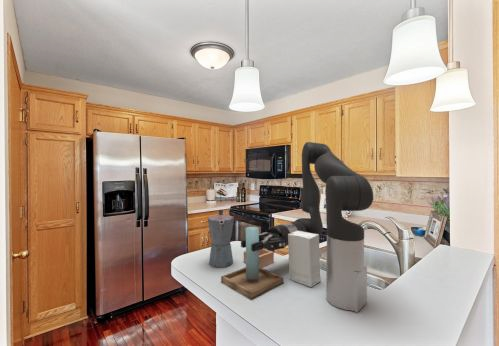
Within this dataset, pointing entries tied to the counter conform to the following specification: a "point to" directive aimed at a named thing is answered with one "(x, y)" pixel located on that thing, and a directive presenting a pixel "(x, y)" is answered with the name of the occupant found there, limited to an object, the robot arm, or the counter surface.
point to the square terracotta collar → (263, 257)
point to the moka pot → (220, 239)
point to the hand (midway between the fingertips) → (247, 246)
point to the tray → (252, 282)
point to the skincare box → (304, 258)
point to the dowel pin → (252, 253)
